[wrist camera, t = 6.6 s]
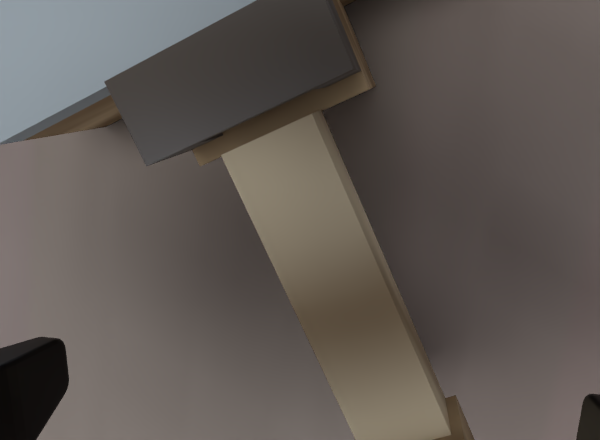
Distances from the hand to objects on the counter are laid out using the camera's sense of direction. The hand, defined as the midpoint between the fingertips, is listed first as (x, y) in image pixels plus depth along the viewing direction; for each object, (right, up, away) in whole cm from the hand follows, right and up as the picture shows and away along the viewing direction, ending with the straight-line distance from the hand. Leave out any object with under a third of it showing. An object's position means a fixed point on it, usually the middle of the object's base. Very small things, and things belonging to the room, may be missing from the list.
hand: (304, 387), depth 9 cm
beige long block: (+2, 0, +6) cm, 6 cm away
